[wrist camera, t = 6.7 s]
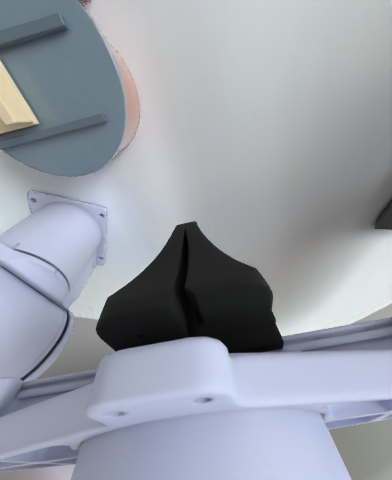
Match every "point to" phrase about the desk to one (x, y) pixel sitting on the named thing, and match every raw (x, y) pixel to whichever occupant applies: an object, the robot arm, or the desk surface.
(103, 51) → the tumbler
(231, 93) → the desk surface
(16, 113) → the lid slider
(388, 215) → the computer monitor
